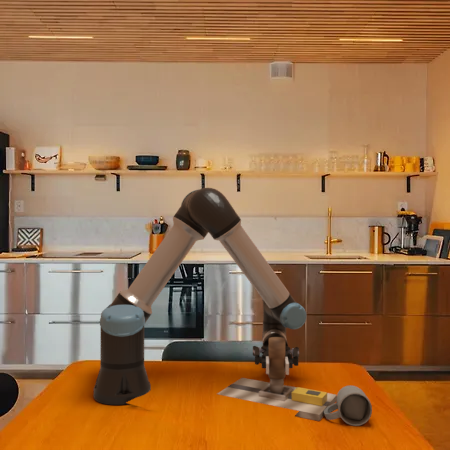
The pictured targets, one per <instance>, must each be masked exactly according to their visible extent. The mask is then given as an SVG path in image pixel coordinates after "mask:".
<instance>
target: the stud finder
mask: <svg viewBox="0 0 450 450" xmlns="http://www.w3.org/2000/svg"><path fill="white" fill-rule="evenodd" d="M327 393H328V392H326V391H321V390H315V389H310V388H305V387H299V386H297V388H296V389H295V390H294V391H293V392H292V400H293V401H299V402H304V403H309V404H314V405H319V406H323V405H324V403H325V402H326V401H327Z"/></svg>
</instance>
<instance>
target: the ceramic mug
mask: <svg viewBox="0 0 450 450" xmlns="http://www.w3.org/2000/svg"><path fill="white" fill-rule="evenodd" d="M336 395H337V399H336V402H335V403H334V404H332V405H330V406H328V407H327V408H326V409H325V410H324V418H325V419H326V420H328V421H329V420H330V421H331V420H332V421H333V420H336V419H340V418H341V419H342V421H343V422H345V424H347V425H349V426H353V427H359V426H362V425H364V424H366V423H367V422H368V421H369V420H370V418H371V417H372V414H373V413H372V412H373V408H372V407H373V406H372V403H371V400H370V399H369V397H368V396H367V395H366V393H365V392H364V391H363V390H362V388H359V387H358V386H356V385H346V386H343V387H342V388H340V389H339V391H338V392H337V394H336Z"/></svg>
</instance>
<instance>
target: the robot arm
mask: <svg viewBox="0 0 450 450" xmlns="http://www.w3.org/2000/svg"><path fill="white" fill-rule="evenodd" d="M172 221H173V225H172V226H171V228H170V230H169V231H168V232H167V234H166V235H165V236H164V237H163V239H162V240H161V242H160V243H159V245H158V247H157V248H156V249H155V250H154V252H153V253H152V255H151V256H150V257H149V259H148V260H147V262H146V263H145V265H144V266H143V267H142V269H141V270H140V271H139V273H138V274H137V276H136V278H134V280H133V282H132V283H131V284H130V285H129V287H128V288H127V289H125V290H122V291H119V293H118V294H117V295H116V297H115V298H114V300H113V301H112V303H110V304H109V305H108V306H107V307H106V308H104V309H103V310H102V311H101V313H100V319H99V326H100V352H99V353H100V358H99V359H100V364H99V365H100V366H99V371H98V374H97V378H96V382H95V384H94V387H93V399H94V400H95V401H96V402H97V403H100V404H103V405H111V406H113V405H114V406H118V405H121V406H122V405H129V403H128V402H130V401H132V400H134V399H136V398H140V397H142V396H145V395H146V394H148V393H149V392H150V391H151V389H152V388H151V383H150V380H149V377H148V374H147V369H146V367H145V324H146V323H147V322H148V320H149V318H150V317H151V316H152V314H153V311H152V310H153V309H152V305H153V304H154V302H155V301H156V299H157V298H158V297H159V295H160V294H161V292H162V291H163V290H164V288H165V286H166V285H167V283H168V282H169V281H170V279H171V278H172V277H173V275H174V274H175V273H176V271H177V269H178V268H179V267H180V266H181V264H182V262H183V261H184V259H185V258H186V256H187V255H188V254H189V252H190V251H191V249H192V248H193V247H194V245H195V243H196V242H198V241H201V240H204V239H206V236H207V235H208V234H209V235H210V236H211V238H212V239H213V240H214V241H219V243H220V244H221V245H222V246H223V247H224V249H225V250H226V252H227V253H228V254H229V255H230V257H231V258H232V260H233V261H234V263H235V264H236V265H237V267H238V268H239V269H240V271H241V272H242V273H243V275H244V276H245V277H246V280H248V281H249V282H250V284H251V286H252V287H253V288H254V289H255V291H256V292H257V293H258V295H259V297H260V298H261V299H262V335H261V336H262V345H261V347H260V346H258V345H253V346H252V356H253V357H254V365H260V364H261V368H262V369H265V374H266V375H268V374H269V338H271V337H282V338H285V376H286V375H287V376H289V375H290V369H293V367H294V366H295V367H298V366H299V357H300V347H298V346H296V347H292V348H291V347H290V346H289V343H288V340H287V329H290V330H298V329H300V328H302V327H303V326H304V324H305V323H306V321H307V319H308V318H307V310H306V309H305V308H304V306H302V304H300V303H298V302H297V301H296V300H295V298H294V297H293V296H292V294H291V292H289V290H288V289H287V288H286V286H285V284H284V283H283V282H282V280H281V279H280V277H278V275H277V273H276V272H275V271H274V270H273V268H272V267H271V265H270V264H269V263H268V261H267V260H266V258H265V257H264V255H263V254H262V253H261V251H260V250H259V248H258V247H257V246H256V244H255V243H254V242H253V240H252V239H251V238H250V236H249V234H248V233H247V232H246V230H245V229H244V228H243V226H242V223H241V222H242V219H241V218H240V216H239V215H238V214H237V211H236V210H235V209H234V207H233V205H232V204H231V203H230V201H229V200H228V199H227V197H226V196H225V195H224V194H223V193H222V192H221V191H219V190H218V189H216V188H213V187H203V188H200V189H199V188H198V189H196V190H193V191H190V192H189V193H188V194H186V195H185V197H184V198H183V200H182V202H181V204H180V207H179V208H178V210H177V211H176V213H175V214H174V215H173V216H172ZM261 354H262V355H261ZM260 355H261V356H260Z"/></svg>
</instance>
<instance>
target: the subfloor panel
mask: <svg viewBox="0 0 450 450" xmlns="http://www.w3.org/2000/svg"><path fill="white" fill-rule="evenodd" d="M297 387H298V386H297ZM297 387H295V386H291V385H286V384H284V392H283V393H282V394H274V393H270V381H269V382H268V381H263V380H257V379H252V378H251V379H250V378H246V377H240V379H238V380H236V381H235V382H233V383H231V384H229V385H228V386H226V387H225V388H224V389H222V390H221V391H219V392H217V393H216V395H219V396H223V397H229V398H234V399H239V400H243V401H250V402H253V403H259V404H263V405H267V406H268V405H269V406H274V407H278V408H283V409H289V410H293V411H298V412H297V413H296V414H295V415H294V417H297V418H303V419H307V420H312V421H316V422H320V421H321V420H322V419H323V417H325V415H324V410H325V409H326V408H327V407H328V406H330V405H332V404H334V403H336V402H337V401H336V399H337V394H335V393H334V394H333V393H330V392H327V401H326V402H325V403H324V405H323V406H319V405H314V404H309V403H304V402H299V401H293V400H292V392H293V391H294V390H295V389H296V388H297Z"/></svg>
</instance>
